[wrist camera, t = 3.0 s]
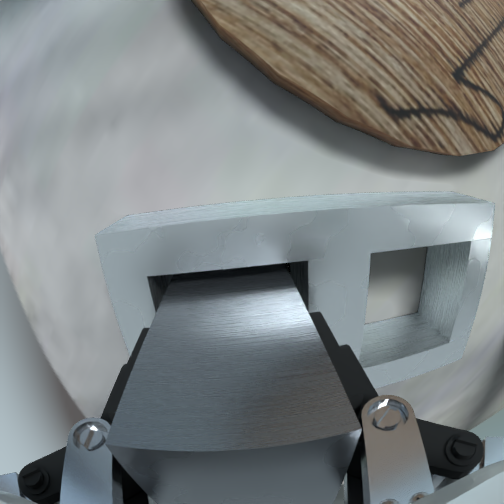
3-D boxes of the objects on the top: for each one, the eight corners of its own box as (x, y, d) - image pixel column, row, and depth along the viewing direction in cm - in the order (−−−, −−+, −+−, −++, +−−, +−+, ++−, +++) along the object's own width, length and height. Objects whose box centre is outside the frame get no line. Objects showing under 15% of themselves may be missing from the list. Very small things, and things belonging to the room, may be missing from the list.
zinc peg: (276, 247, 13) (361, 428, 4) (280, 328, 15) (330, 508, 5) (181, 257, 13) (104, 443, 4) (197, 336, 15) (173, 519, 5)
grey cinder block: (451, 191, 13) (494, 203, 10) (432, 329, 16) (461, 358, 12) (127, 215, 12) (94, 235, 9) (166, 370, 15) (154, 414, 12)
